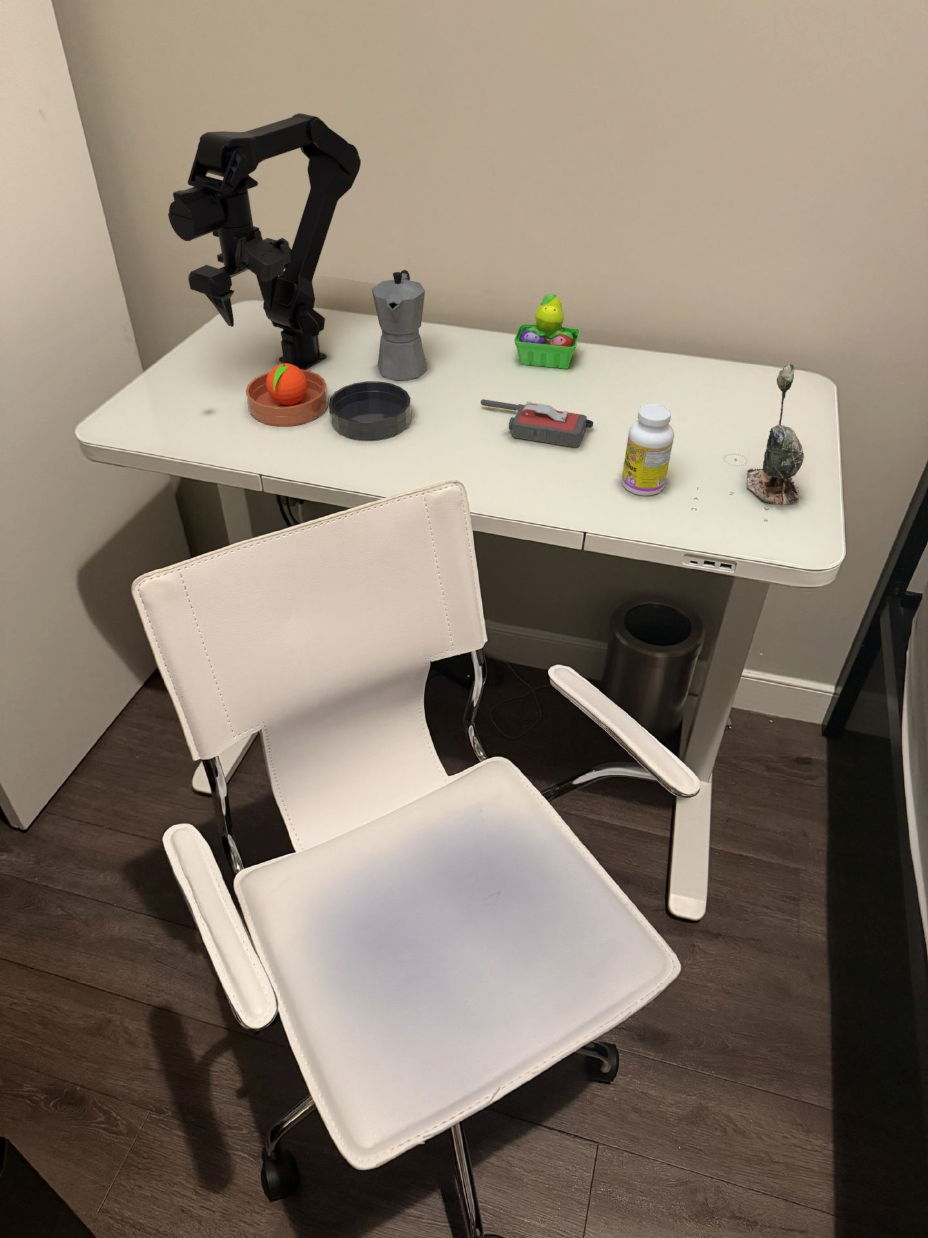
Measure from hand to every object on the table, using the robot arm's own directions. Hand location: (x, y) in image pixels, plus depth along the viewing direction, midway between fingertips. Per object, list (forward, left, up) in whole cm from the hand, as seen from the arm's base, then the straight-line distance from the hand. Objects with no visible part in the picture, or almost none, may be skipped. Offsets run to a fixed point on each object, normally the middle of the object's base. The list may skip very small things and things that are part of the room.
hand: (250, 316), depth 153 cm
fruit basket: (-38, +37, -13) cm, 54 cm away
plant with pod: (-22, +88, -13) cm, 91 cm away
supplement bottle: (-12, +71, -13) cm, 73 cm away
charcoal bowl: (-2, +24, -13) cm, 28 cm away
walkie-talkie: (-16, +48, -13) cm, 52 cm away
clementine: (+3, +10, -12) cm, 16 cm away
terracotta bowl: (+3, +10, -13) cm, 16 cm away
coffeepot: (-20, +17, -13) cm, 29 cm away
